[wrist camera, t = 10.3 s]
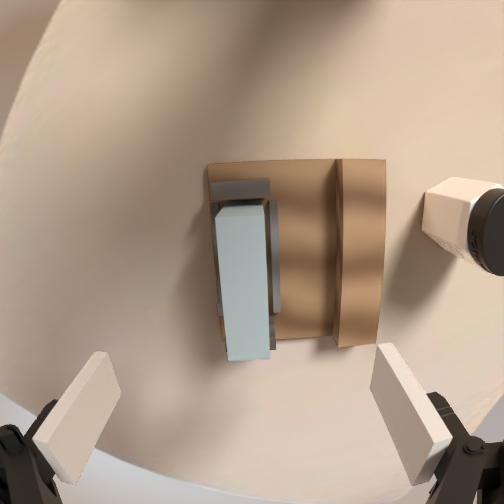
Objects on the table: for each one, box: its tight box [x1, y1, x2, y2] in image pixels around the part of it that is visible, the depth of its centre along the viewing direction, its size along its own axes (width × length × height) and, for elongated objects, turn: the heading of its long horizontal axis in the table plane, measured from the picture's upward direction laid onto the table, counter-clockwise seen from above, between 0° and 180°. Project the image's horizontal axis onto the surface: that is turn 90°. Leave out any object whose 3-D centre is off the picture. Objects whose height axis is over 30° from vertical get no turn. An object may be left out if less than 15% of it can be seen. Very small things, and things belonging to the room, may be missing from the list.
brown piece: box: [207, 159, 386, 352], centre depth 32 cm, size 20×18×6 cm
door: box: [215, 200, 270, 361], centre depth 29 cm, size 12×4×10 cm, turn 3°
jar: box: [421, 177, 504, 276], centre depth 28 cm, size 9×8×12 cm
